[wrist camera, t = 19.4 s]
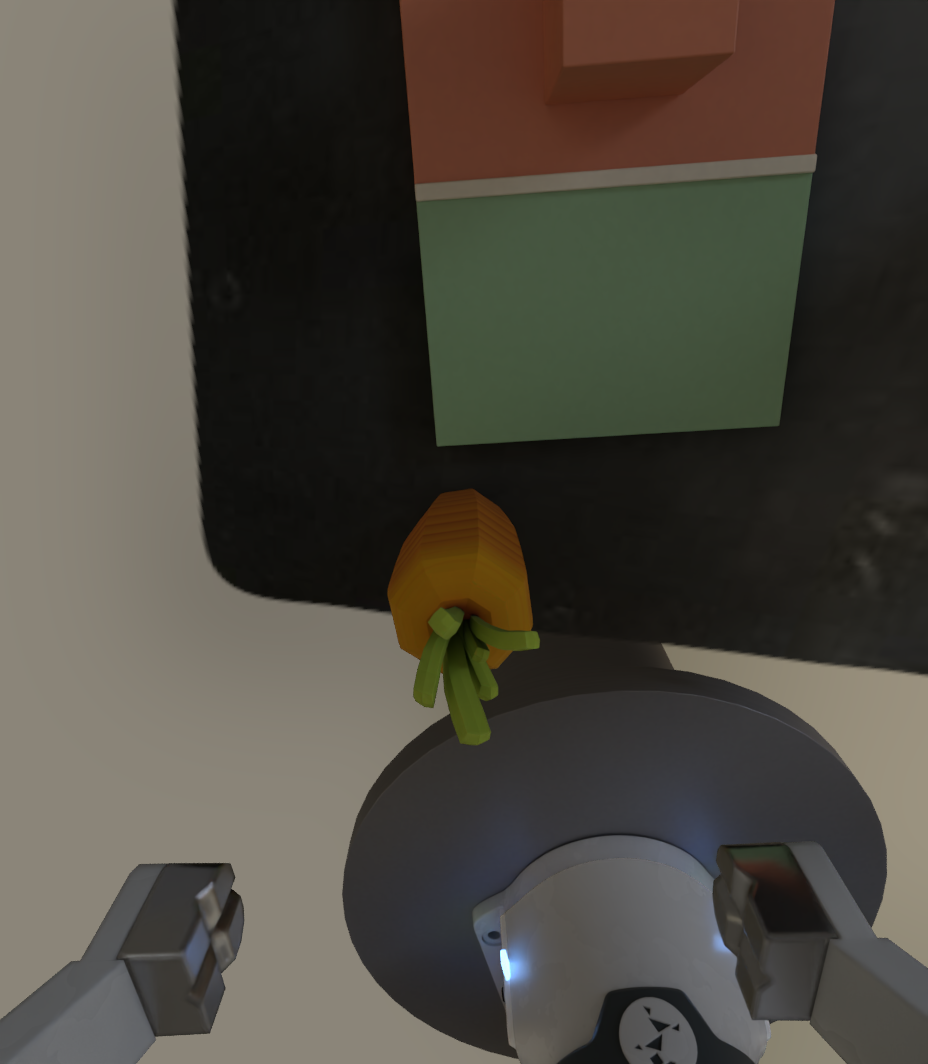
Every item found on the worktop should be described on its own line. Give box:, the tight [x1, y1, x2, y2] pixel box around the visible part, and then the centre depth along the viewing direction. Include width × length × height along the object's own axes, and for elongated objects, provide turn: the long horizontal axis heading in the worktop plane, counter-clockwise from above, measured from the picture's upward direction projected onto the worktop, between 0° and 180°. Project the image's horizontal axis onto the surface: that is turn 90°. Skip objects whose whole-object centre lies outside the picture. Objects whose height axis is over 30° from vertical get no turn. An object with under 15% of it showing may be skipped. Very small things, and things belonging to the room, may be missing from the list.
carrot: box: [388, 489, 540, 745], centre depth 23 cm, size 5×5×15 cm
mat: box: [399, 0, 835, 446], centre depth 24 cm, size 20×15×1 cm
